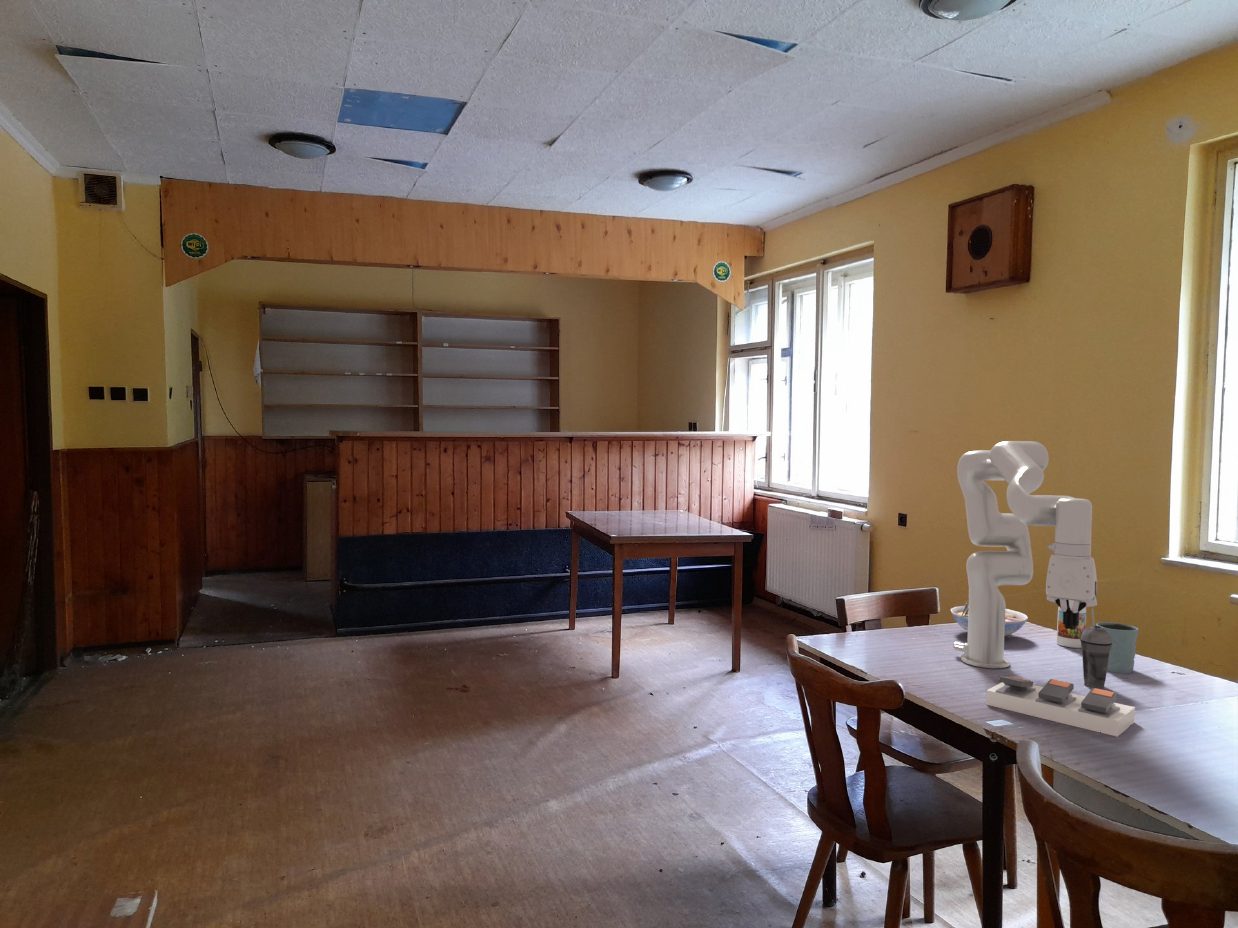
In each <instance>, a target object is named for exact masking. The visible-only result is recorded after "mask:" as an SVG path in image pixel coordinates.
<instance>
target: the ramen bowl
mask: <svg viewBox="0 0 1238 928" xmlns="http://www.w3.org/2000/svg"><path fill="white" fill-rule="evenodd" d="M950 612H951V614H952V617H953V618H954V620H955V621H956V622H957V623H956V624H957V625H959V627H961V628H962V629H964V630H966V631H967V632H968V613H969V600H966V601H965V604H964V605H961V606H954V607H951V608H950ZM1028 619H1029V617H1028V615H1027V614H1026V613H1023V612H1020V611H1016V610H1012V609H1009V608H1005V633H1004V637H1007V636H1010V635H1013V634H1015V633H1016V632H1018V631H1019V630H1020V629H1021V628H1023V626H1024V625H1025V624H1026V623H1027V621H1028Z"/></svg>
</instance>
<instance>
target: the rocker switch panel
mask: <svg viewBox="0 0 1238 928" xmlns="http://www.w3.org/2000/svg"><path fill="white" fill-rule="evenodd" d="M1043 687H1044V686H1040V685H1035V684H1033V687H1027V690H1024V689H1020V688H1015V687H1011V686H1006V685H1004V683H1002V682H999V683H998V684H995V685H994V686H992V687H990V688H988V689H986V697H985V698H986V702H985V703H986V704H985V705H987V706H990V707H994V708H999V709H1003V710H1007V711H1010V712H1016V713H1018V714H1021V715H1022V714H1023V715H1028V716H1032V717H1036V718H1039V719H1044V720H1049V721H1052V722H1056V723H1059V724H1064V725H1068V726H1073V727H1077V728H1081V729H1085V730H1089V731H1093V732H1097V733H1100V732H1101V734H1104V735H1110V736H1112V737H1117V738H1118V737H1119V736H1121V734H1123V733H1124V732H1125V731H1126V730H1127V729H1128V728H1130V727H1131V726H1132V725H1134V723H1135V716H1136V707H1135V706H1131V705H1126V704H1123V703H1118V702H1114V703H1113V705H1112V709H1109V710H1108V712H1107V713H1103V712H1099V711H1094V710H1090V709H1085V708H1081V702H1082V701H1083V700H1084V698H1085V697H1086V696H1087V695H1086V696H1085V695H1081V694H1078V693H1077V694H1076V693H1072V692H1071V693H1070V694H1069V696H1068V699H1065V700H1064V701H1063V702H1062V703H1059V702H1055V701H1051V700H1046V699H1042V698H1039V696H1038V693H1039V692H1040V691H1041V689H1042V688H1043ZM1130 725H1131V726H1130Z"/></svg>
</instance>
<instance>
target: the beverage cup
mask: <svg viewBox="0 0 1238 928" xmlns="http://www.w3.org/2000/svg"><path fill="white" fill-rule="evenodd" d="M1094 611H1095V610H1094V608H1091V611H1090V612H1091V621H1092V625H1091V626H1088V627H1086V629H1085V630H1084V631H1083V633H1082V635H1081V639H1080V641H1081V648H1080V649H1081V652H1082V655H1081V657H1082V671H1083V673H1082V674H1083V682H1084V683H1083V684H1084V686H1085V687H1089V688H1091V689H1092V688H1097V689H1104V688H1105V684H1106V681H1107V680H1106V679H1107V672H1108V671H1107V666H1108V659H1109V652H1110V650H1111V645H1112V639H1111V636H1110V634H1109V633H1108V631H1107V630H1106V629H1104V628H1102V627H1100V626H1096V623H1095V613H1094Z"/></svg>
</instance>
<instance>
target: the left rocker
mask: <svg viewBox="0 0 1238 928" xmlns="http://www.w3.org/2000/svg"><path fill="white" fill-rule="evenodd" d="M998 682H999V683H1004V685H1006V686H1011V687H1015V688H1020V689H1024V690H1027V687H1033V685H1034V681H1033V680H1030V679H1026V678H1021V677H1017V676H999V677H998Z"/></svg>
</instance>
